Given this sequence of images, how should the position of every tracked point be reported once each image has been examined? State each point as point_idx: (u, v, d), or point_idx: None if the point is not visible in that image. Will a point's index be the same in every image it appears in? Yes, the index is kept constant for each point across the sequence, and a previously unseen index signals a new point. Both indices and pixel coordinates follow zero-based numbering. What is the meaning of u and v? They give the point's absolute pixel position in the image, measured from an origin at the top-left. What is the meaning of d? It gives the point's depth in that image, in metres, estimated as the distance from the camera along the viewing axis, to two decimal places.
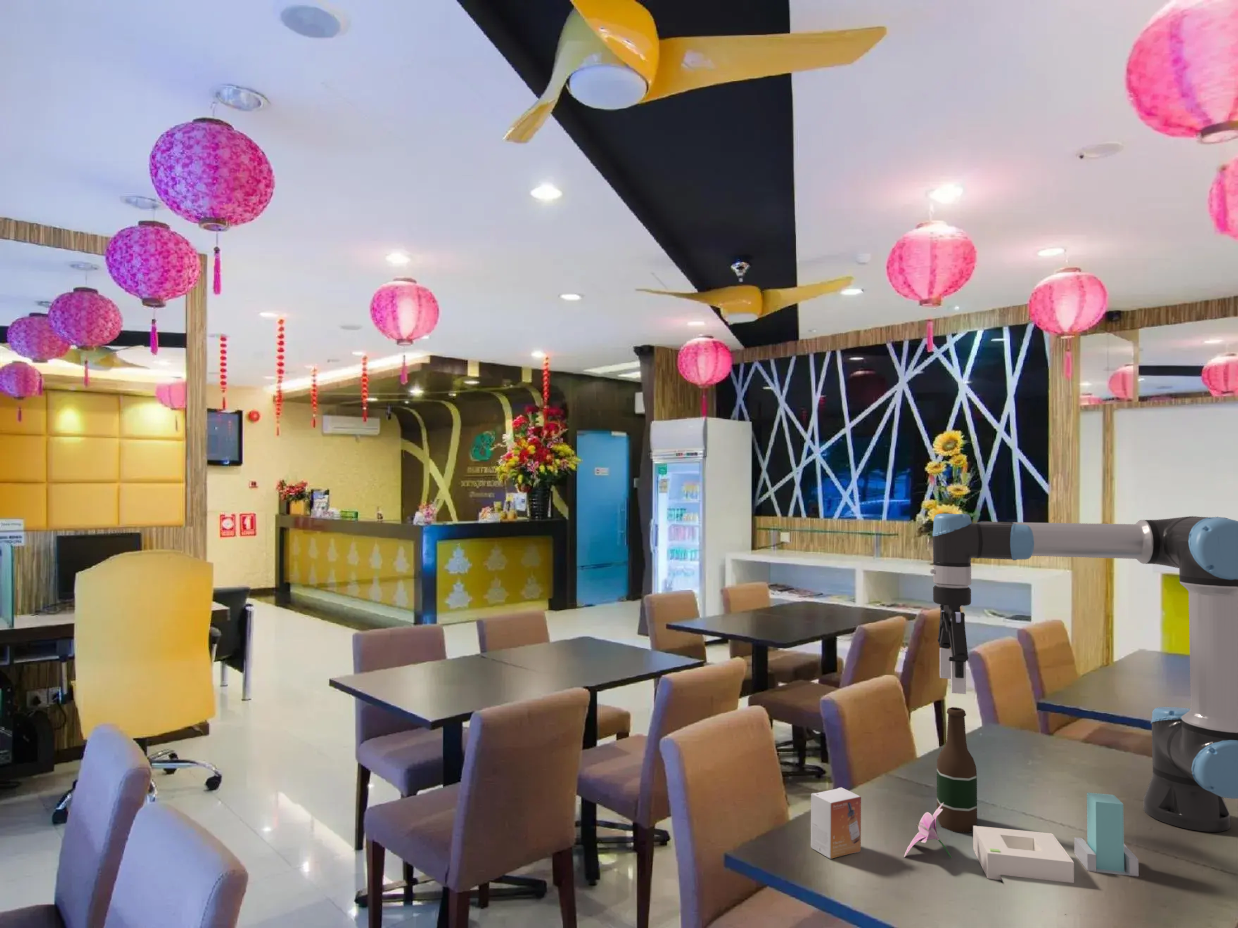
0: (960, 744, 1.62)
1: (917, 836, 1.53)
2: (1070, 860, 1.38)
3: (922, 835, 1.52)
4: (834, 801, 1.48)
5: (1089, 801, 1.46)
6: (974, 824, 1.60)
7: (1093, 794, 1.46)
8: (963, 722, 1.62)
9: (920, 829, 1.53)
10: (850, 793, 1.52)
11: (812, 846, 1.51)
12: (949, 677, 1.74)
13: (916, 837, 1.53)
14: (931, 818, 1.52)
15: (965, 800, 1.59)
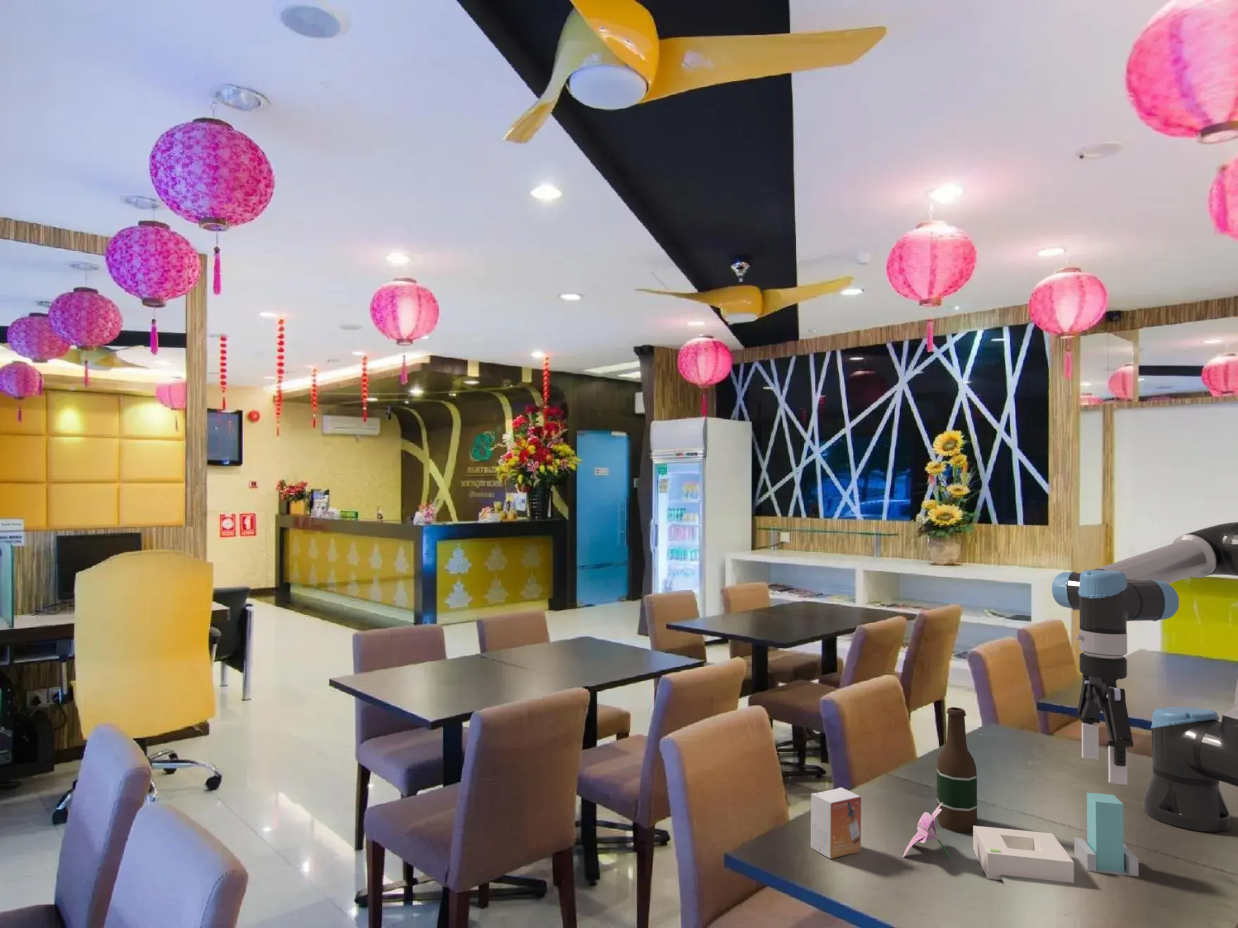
0: (960, 744, 1.62)
1: (916, 836, 1.53)
2: (1070, 860, 1.38)
3: (921, 835, 1.52)
4: (834, 801, 1.48)
5: (1089, 801, 1.46)
6: (974, 824, 1.60)
7: (1093, 794, 1.46)
8: (963, 722, 1.62)
9: (919, 829, 1.53)
10: (850, 793, 1.52)
11: (812, 846, 1.51)
12: (1094, 757, 1.51)
13: (915, 837, 1.53)
14: (930, 818, 1.52)
15: (965, 800, 1.59)
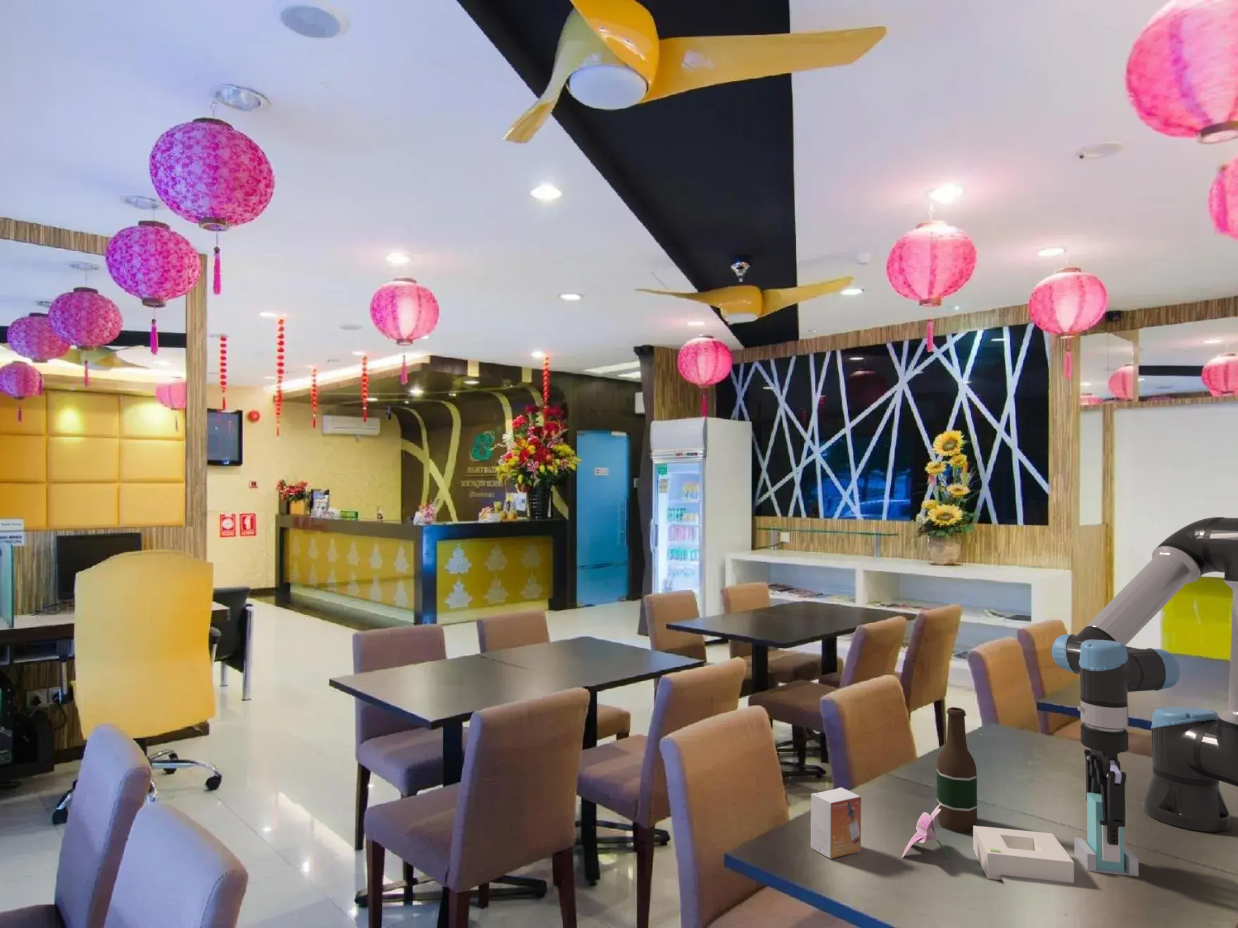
0: (960, 744, 1.62)
1: (915, 836, 1.53)
2: (1070, 860, 1.38)
3: (920, 835, 1.52)
4: (834, 801, 1.48)
5: (1089, 801, 1.46)
6: (974, 824, 1.60)
7: (1093, 794, 1.46)
8: (963, 722, 1.62)
9: (918, 829, 1.53)
10: (850, 793, 1.52)
11: (812, 846, 1.51)
12: None
13: (914, 837, 1.53)
14: (929, 818, 1.52)
15: (965, 800, 1.59)
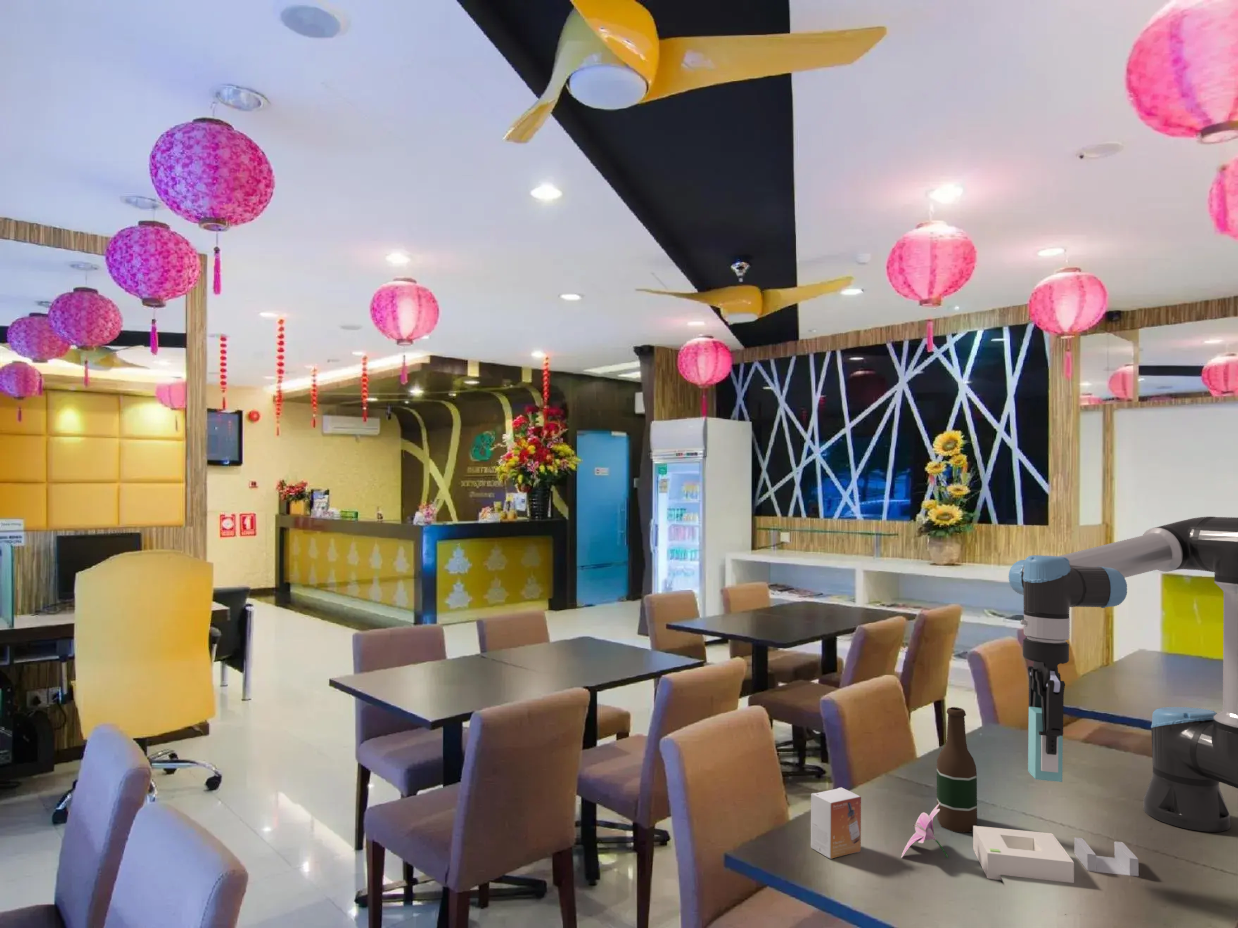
0: (960, 744, 1.62)
1: (914, 836, 1.53)
2: (1070, 860, 1.38)
3: (919, 835, 1.51)
4: (834, 801, 1.48)
5: (1030, 714, 1.47)
6: (974, 824, 1.60)
7: (1034, 708, 1.47)
8: (963, 722, 1.62)
9: (917, 829, 1.53)
10: (850, 793, 1.52)
11: (812, 846, 1.51)
12: None
13: (913, 837, 1.53)
14: (928, 818, 1.52)
15: (965, 800, 1.59)
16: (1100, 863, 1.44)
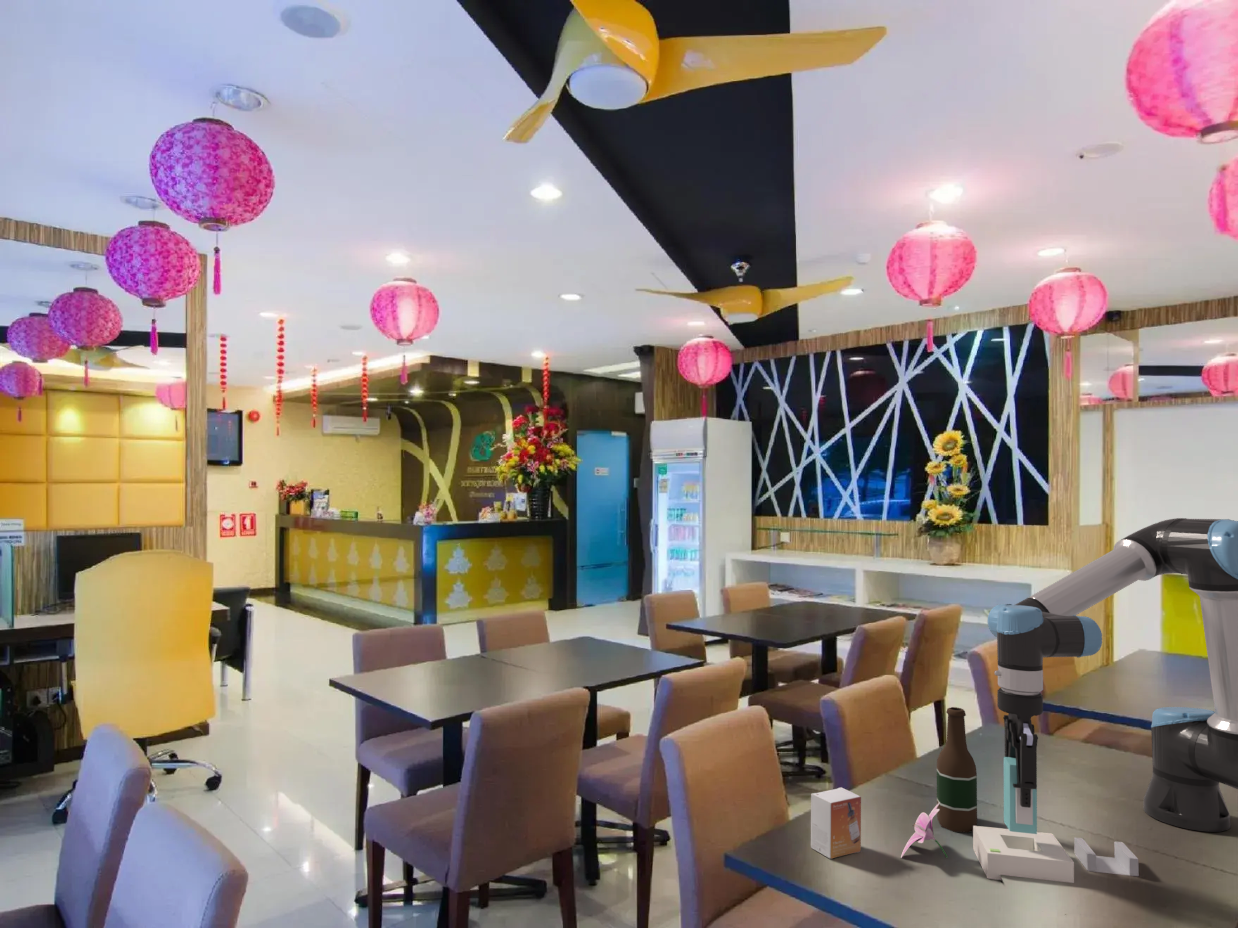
0: (960, 744, 1.62)
1: (913, 836, 1.53)
2: (1070, 860, 1.38)
3: (918, 835, 1.51)
4: (834, 801, 1.48)
5: (1005, 765, 1.47)
6: (974, 824, 1.60)
7: (1009, 758, 1.47)
8: (963, 722, 1.62)
9: (916, 829, 1.53)
10: (850, 793, 1.52)
11: (812, 846, 1.51)
12: None
13: (912, 837, 1.53)
14: (927, 818, 1.52)
15: (965, 800, 1.59)
16: (1100, 863, 1.44)
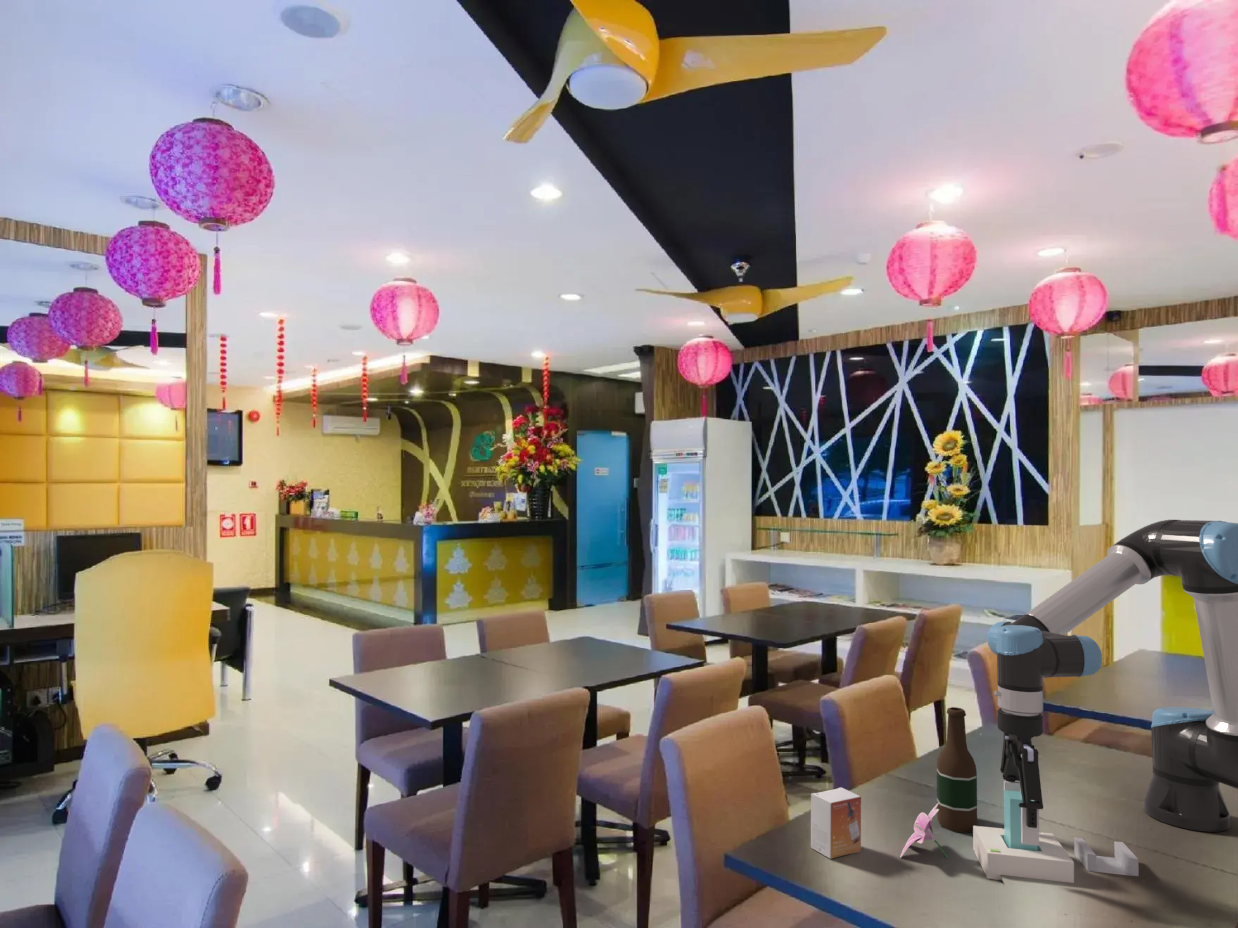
0: (960, 744, 1.62)
1: (913, 836, 1.52)
2: (1070, 860, 1.38)
3: (918, 835, 1.51)
4: (834, 801, 1.48)
5: (1005, 798, 1.47)
6: (974, 824, 1.60)
7: (1010, 792, 1.47)
8: (963, 722, 1.62)
9: (915, 829, 1.53)
10: (850, 793, 1.52)
11: (812, 846, 1.51)
12: None
13: (912, 837, 1.53)
14: (927, 818, 1.52)
15: (965, 800, 1.59)
16: (1100, 863, 1.44)
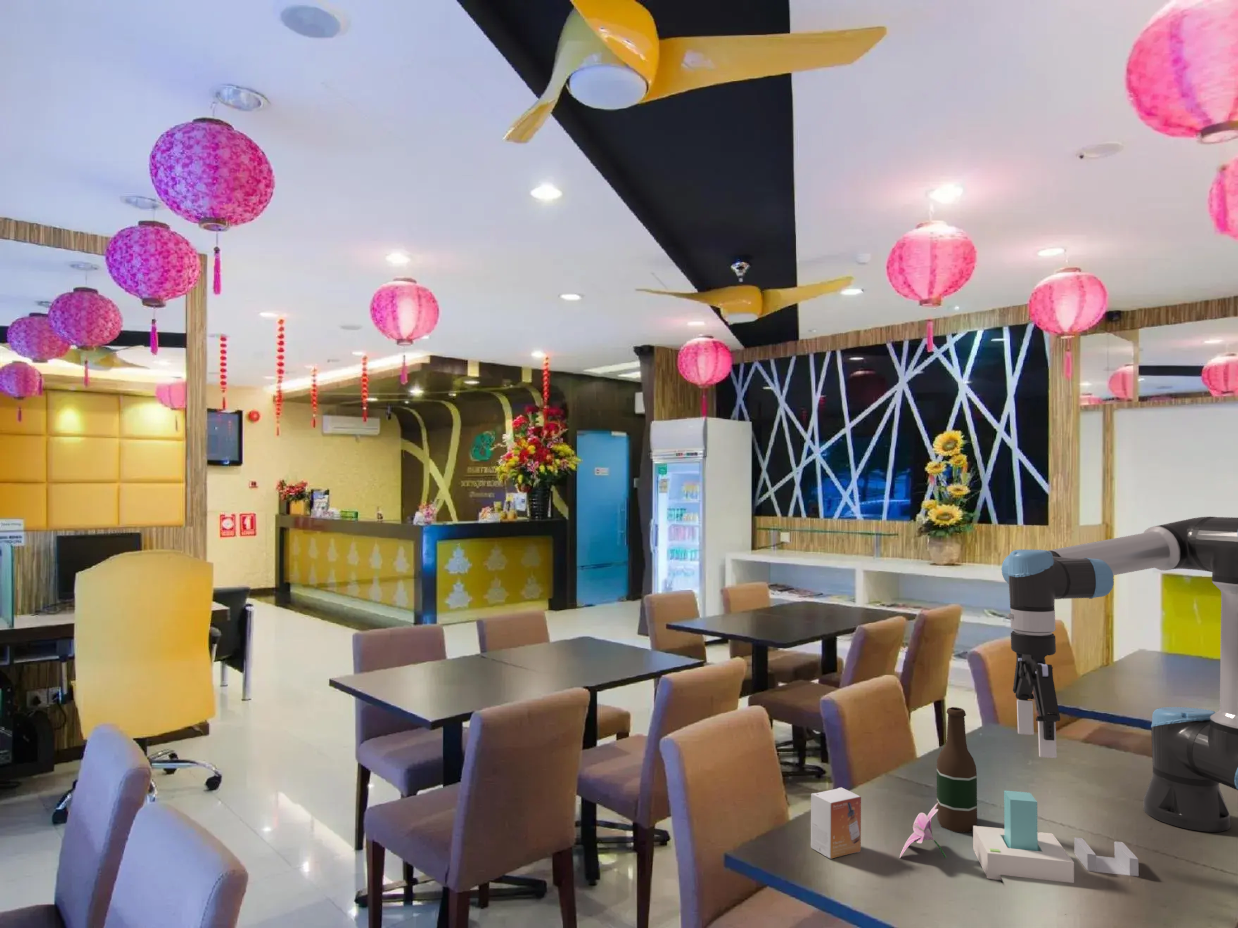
0: (960, 744, 1.62)
1: (912, 837, 1.52)
2: (1070, 860, 1.38)
3: (917, 835, 1.51)
4: (834, 801, 1.48)
5: (1005, 799, 1.46)
6: (974, 824, 1.60)
7: (1010, 792, 1.47)
8: (963, 722, 1.62)
9: (915, 829, 1.53)
10: (850, 793, 1.52)
11: (812, 846, 1.51)
12: (1029, 733, 1.54)
13: (911, 838, 1.53)
14: (926, 818, 1.52)
15: (965, 800, 1.59)
16: (1100, 863, 1.44)
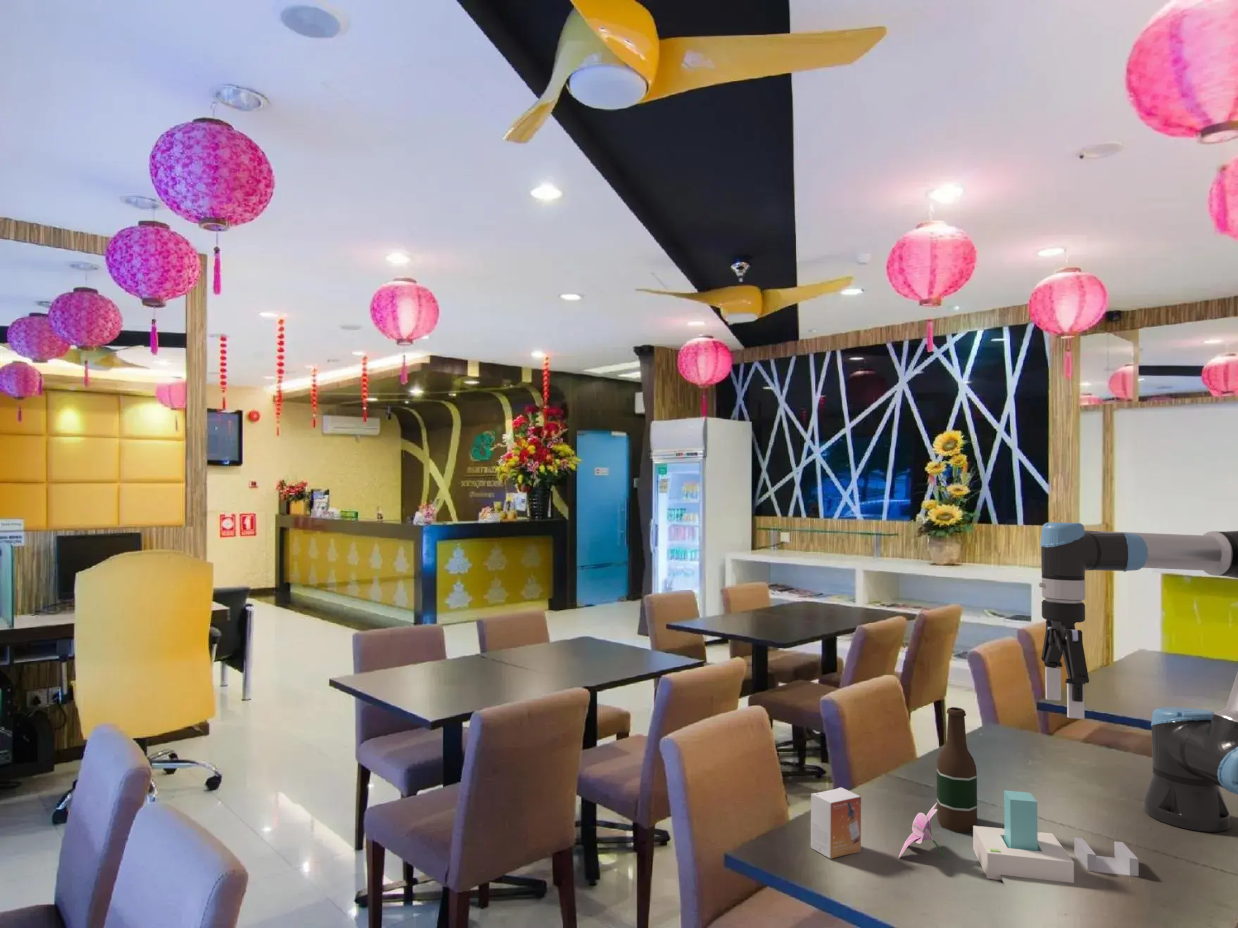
0: (960, 744, 1.62)
1: (911, 837, 1.52)
2: (1070, 860, 1.38)
3: (916, 836, 1.51)
4: (834, 801, 1.48)
5: (1005, 799, 1.46)
6: (974, 824, 1.60)
7: (1010, 792, 1.47)
8: (963, 722, 1.62)
9: (914, 830, 1.53)
10: (850, 793, 1.52)
11: (812, 846, 1.51)
12: (1056, 699, 1.61)
13: (910, 838, 1.52)
14: (925, 818, 1.52)
15: (965, 800, 1.59)
16: (1100, 863, 1.44)
